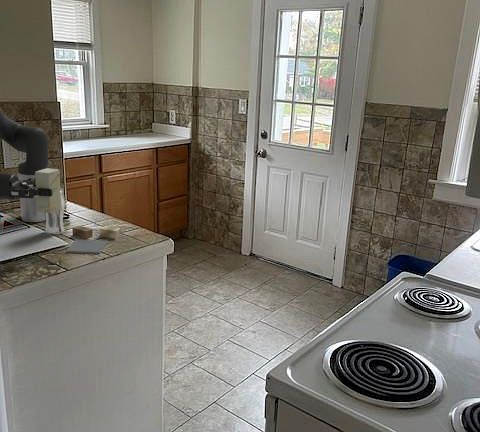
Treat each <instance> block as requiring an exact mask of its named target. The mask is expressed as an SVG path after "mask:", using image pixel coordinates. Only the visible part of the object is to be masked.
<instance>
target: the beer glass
mask: <svg viewBox="0 0 480 432" xmlns="http://www.w3.org/2000/svg"><path fill="white" fill-rule="evenodd" d="M60 190H61V209H59V210H57V211H54V212H52V213H44V214H45V218H46V220H45V232H44V233H45V234H47V235H50V236H51V235H52V236H55V235H61V234H63V233H65V228H64V222H63V221H64V212H65V203H66V202H65V194H64V193H65V192H64V188H63V187H61V189H60Z"/></svg>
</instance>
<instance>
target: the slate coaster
mask: <svg viewBox="0 0 480 432" xmlns="http://www.w3.org/2000/svg"><path fill="white" fill-rule="evenodd" d="M106 244H107V240H97V239H96V240H95V239H74V241H73V242H72V243H71V244H70V246H69V247H68V249H66V253H69V254H93V255H94V254H96V255H100V254H101V253H102V251H103V250H104V248H105V247H106Z"/></svg>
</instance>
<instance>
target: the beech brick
mask: <svg viewBox="0 0 480 432" xmlns="http://www.w3.org/2000/svg"><path fill="white" fill-rule="evenodd" d="M121 236H122V235H121V228H120V227H113V226H107V225H106V226H105V225H104V226H102V227H101V228H99V237H102V238H107V239H115V240H117V239H119V238H120V237H121Z"/></svg>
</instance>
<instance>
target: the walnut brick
mask: <svg viewBox="0 0 480 432" xmlns="http://www.w3.org/2000/svg"><path fill="white" fill-rule="evenodd" d="M71 229H72V233H71V234H72V236H73V237H77V238H80V239H82V240H89V239H91V238H93V235H94V232H93V231H94V230H93V228H91V227H86V226H82V225H76V226H73V227H72V228H71Z"/></svg>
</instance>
